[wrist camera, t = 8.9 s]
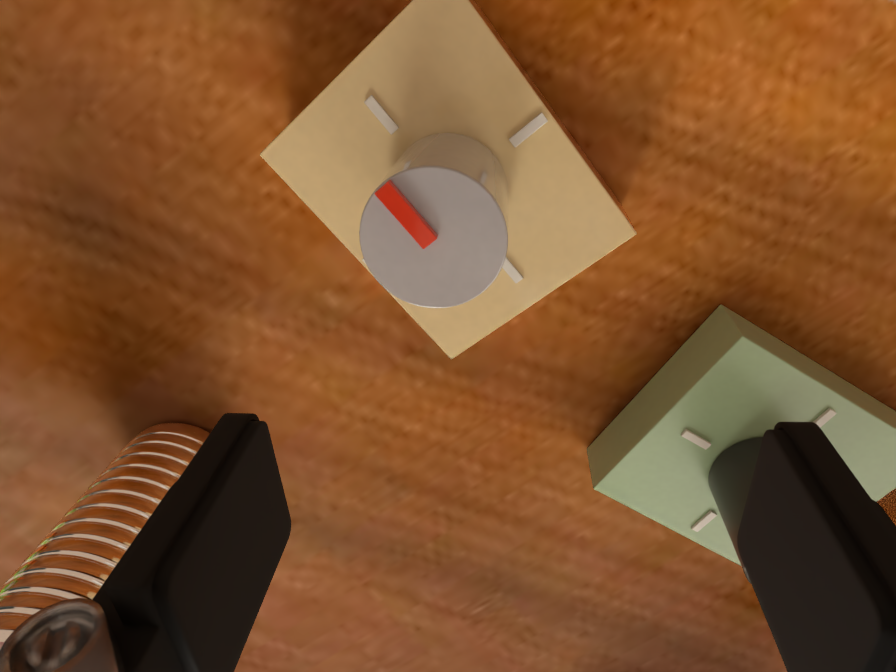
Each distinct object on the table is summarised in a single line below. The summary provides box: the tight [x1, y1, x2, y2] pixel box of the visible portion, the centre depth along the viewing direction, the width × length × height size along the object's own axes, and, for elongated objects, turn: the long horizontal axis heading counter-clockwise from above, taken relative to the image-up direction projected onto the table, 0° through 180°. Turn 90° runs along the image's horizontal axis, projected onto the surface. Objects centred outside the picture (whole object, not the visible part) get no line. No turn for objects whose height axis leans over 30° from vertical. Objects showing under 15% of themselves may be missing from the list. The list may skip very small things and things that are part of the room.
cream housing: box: [260, 0, 637, 359], centre depth 23 cm, size 11×9×4 cm
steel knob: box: [359, 133, 509, 308], centre depth 20 cm, size 4×4×5 cm
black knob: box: [708, 437, 763, 583], centre depth 25 cm, size 4×4×5 cm
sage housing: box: [587, 305, 896, 566], centre depth 29 cm, size 11×10×3 cm
